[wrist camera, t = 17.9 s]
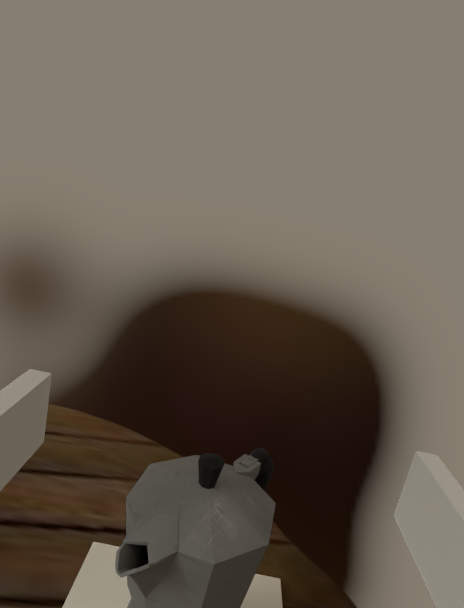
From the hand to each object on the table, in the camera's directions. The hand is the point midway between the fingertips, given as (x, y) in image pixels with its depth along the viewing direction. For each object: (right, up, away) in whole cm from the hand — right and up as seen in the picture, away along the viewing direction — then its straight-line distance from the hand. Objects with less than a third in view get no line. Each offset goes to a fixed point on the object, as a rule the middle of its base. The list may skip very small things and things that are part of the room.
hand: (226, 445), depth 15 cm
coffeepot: (-4, -22, +15) cm, 27 cm away
